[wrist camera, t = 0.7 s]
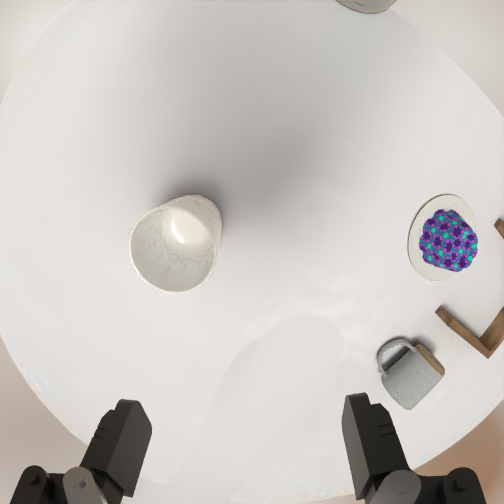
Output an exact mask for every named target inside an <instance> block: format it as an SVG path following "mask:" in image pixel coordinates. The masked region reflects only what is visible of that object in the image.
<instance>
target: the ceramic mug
mask: <svg viewBox="0 0 504 504" xmlns="http://www.w3.org/2000/svg"><path fill="white" fill-rule="evenodd" d="M399 344H401V345H405V346H407V347H409V348H410V350H409V351H408V352H407V353H406V354H405V355H404V356H403V357H402V358H401V359H400V360H399V361H397V362H396V363H395V364H394V365H393V366H392V367H391V368H389V369H388V370H387V371H385V370H384V369H383V367H382V356H383V353H384V352H385V351H386V350H387V349H389V348H391V347H394V346H395V345H399ZM378 364H379V368H380V370H381V372H382V374H383V375H382V376H381V380H382V383H383V385H384V387H385V389H386V390H387V392H388V393H389V394H390V395H391V397H392V398H393V399H394V400H395V401H396V402H397V403H398V404H399V405H401V406H402V407H403V408H405V409H408V410H411V409H412V408H414V407H415V406H416V405H417V404H418V403H419V402H420V401H421V400H422V399H423V398H424V397H425V396H426V395H427V394H428V393H429V392H430V391H431V390H432V389H433V388H434V387H435V386H436V384H437V383H438V382H439V381H440V380H441V378H442V377H443V375H444V374H445V369H444V368H443V366H442V365H441V363H440V362H439V361H438V360H437V359H436V358H435V357H434V355H433V354H432V353H431V352H430V351H429V350H428V349H426V348H425V347H424V346H423V345H420V344H419V345H416V346H415V347H413V346H412V345H411V344H410V343H408V342H407V341H405V340H400V339H397V340H393V341H390V342H388V343H387V344H386V345H385V346H384V347H383V348H382V349H381V350H380V352H379V355H378Z"/></svg>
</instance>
